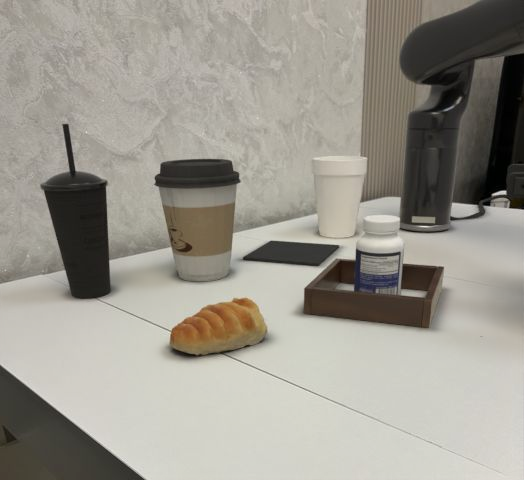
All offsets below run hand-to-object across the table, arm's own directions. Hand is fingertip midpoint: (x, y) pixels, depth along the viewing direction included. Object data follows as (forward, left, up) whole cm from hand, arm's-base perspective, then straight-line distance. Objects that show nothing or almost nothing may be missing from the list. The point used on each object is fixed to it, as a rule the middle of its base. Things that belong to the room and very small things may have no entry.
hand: (507, 179), depth 55 cm
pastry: (+17, -24, -14) cm, 33 cm away
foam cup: (-35, -26, -14) cm, 46 cm away
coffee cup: (-4, -37, -14) cm, 40 cm away
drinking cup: (+8, -47, -14) cm, 50 cm away
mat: (-19, -29, -14) cm, 38 cm away
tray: (0, -12, -14) cm, 19 cm away
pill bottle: (0, -12, -14) cm, 19 cm away
